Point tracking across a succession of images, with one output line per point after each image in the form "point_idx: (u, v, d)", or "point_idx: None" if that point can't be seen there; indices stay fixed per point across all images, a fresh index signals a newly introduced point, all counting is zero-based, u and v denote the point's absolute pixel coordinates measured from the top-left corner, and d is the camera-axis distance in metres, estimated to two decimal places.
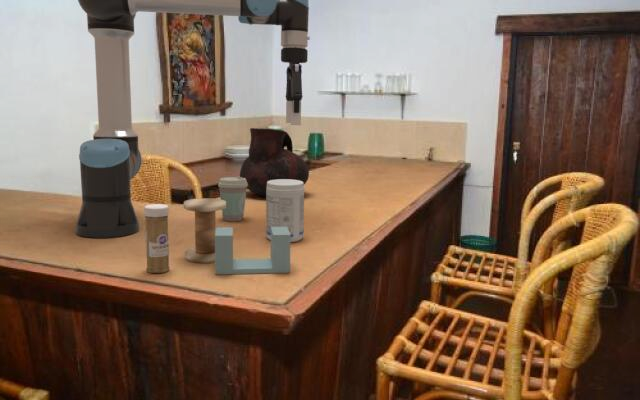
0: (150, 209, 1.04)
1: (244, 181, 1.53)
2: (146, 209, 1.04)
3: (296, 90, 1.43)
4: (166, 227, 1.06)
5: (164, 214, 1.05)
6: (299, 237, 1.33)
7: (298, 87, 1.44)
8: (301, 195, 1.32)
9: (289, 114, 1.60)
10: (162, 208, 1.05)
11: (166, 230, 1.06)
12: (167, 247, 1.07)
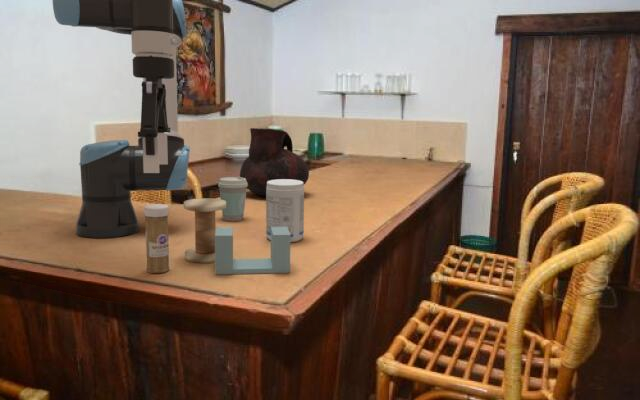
0: (150, 209, 1.04)
1: (244, 181, 1.53)
2: (146, 209, 1.04)
3: (146, 122, 0.94)
4: (166, 227, 1.06)
5: (164, 214, 1.05)
6: (299, 237, 1.33)
7: (149, 117, 0.94)
8: (301, 195, 1.32)
9: None
10: (162, 208, 1.05)
11: (166, 230, 1.06)
12: (167, 247, 1.07)
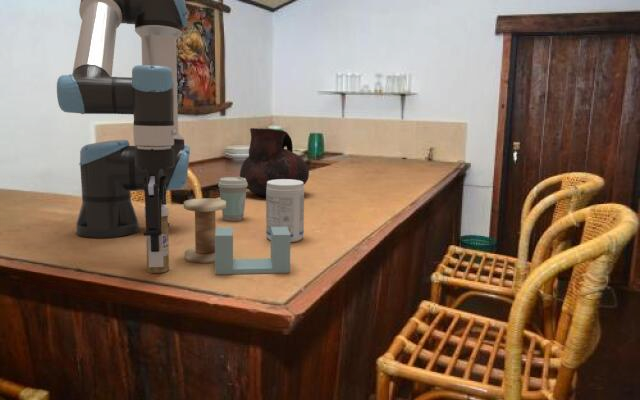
0: None
1: (244, 181, 1.53)
2: None
3: (150, 225, 1.01)
4: (166, 227, 1.06)
5: (164, 214, 1.05)
6: (299, 237, 1.33)
7: (153, 220, 1.01)
8: (301, 195, 1.32)
9: None
10: (162, 208, 1.05)
11: (166, 230, 1.06)
12: (167, 247, 1.07)
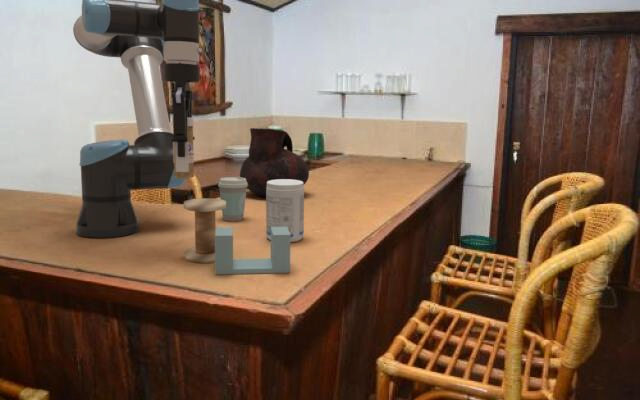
0: None
1: (244, 181, 1.53)
2: None
3: (177, 130, 1.13)
4: (191, 137, 1.18)
5: (190, 124, 1.17)
6: (299, 237, 1.33)
7: (180, 126, 1.13)
8: (301, 195, 1.32)
9: None
10: (188, 118, 1.17)
11: (191, 139, 1.18)
12: (192, 155, 1.19)
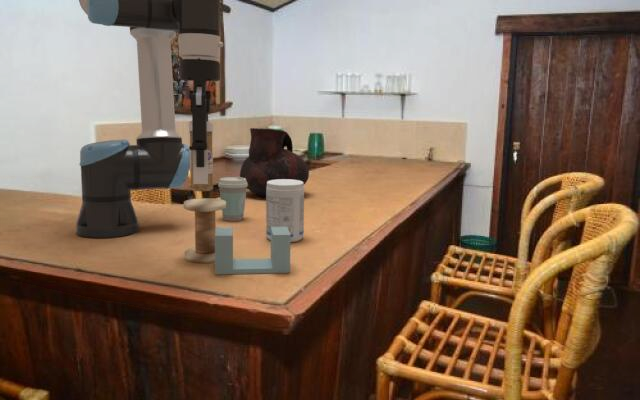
0: None
1: (244, 181, 1.53)
2: (191, 123, 1.01)
3: (197, 136, 0.98)
4: (211, 143, 1.03)
5: (209, 129, 1.02)
6: (299, 237, 1.33)
7: (200, 131, 0.97)
8: (301, 195, 1.32)
9: None
10: (207, 122, 1.01)
11: (211, 147, 1.03)
12: (211, 165, 1.04)
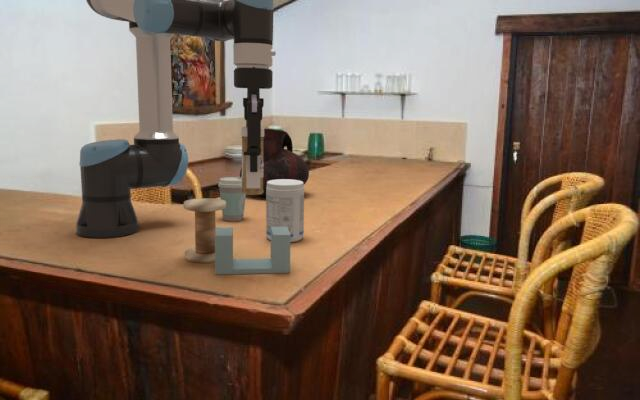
0: None
1: None
2: (244, 129, 1.04)
3: (252, 142, 1.01)
4: (262, 149, 1.06)
5: (261, 135, 1.05)
6: (299, 237, 1.33)
7: (255, 137, 1.01)
8: (301, 195, 1.32)
9: None
10: None
11: (262, 152, 1.07)
12: (262, 169, 1.07)
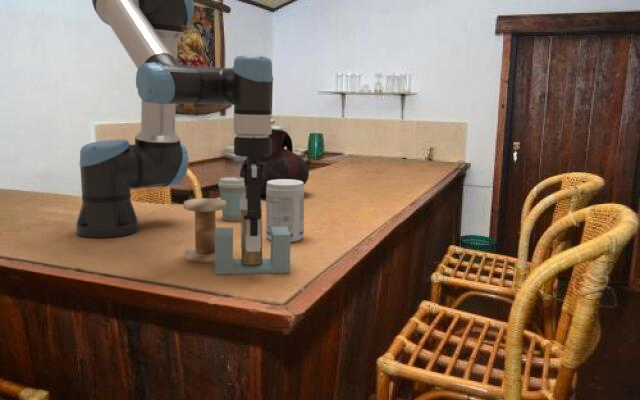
0: None
1: None
2: (243, 203, 1.08)
3: (252, 207, 1.01)
4: (261, 220, 1.10)
5: None
6: (299, 237, 1.33)
7: (255, 202, 1.01)
8: (301, 195, 1.32)
9: None
10: None
11: (261, 223, 1.10)
12: (261, 240, 1.10)
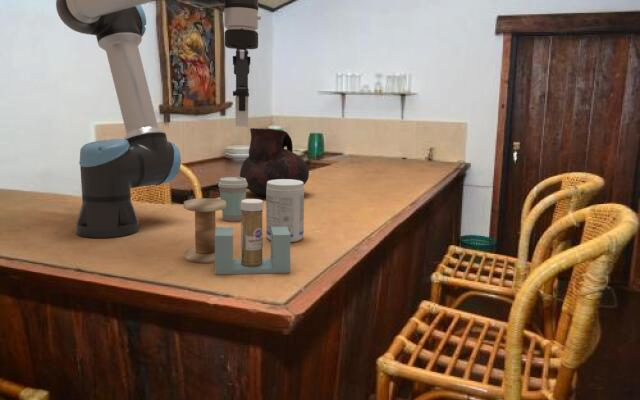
0: (248, 203, 1.07)
1: (244, 181, 1.53)
2: (243, 203, 1.07)
3: (240, 82, 1.13)
4: (261, 221, 1.09)
5: (260, 208, 1.08)
6: (299, 237, 1.33)
7: (243, 78, 1.14)
8: (301, 195, 1.32)
9: None
10: (259, 202, 1.08)
11: (261, 224, 1.09)
12: (262, 240, 1.10)
